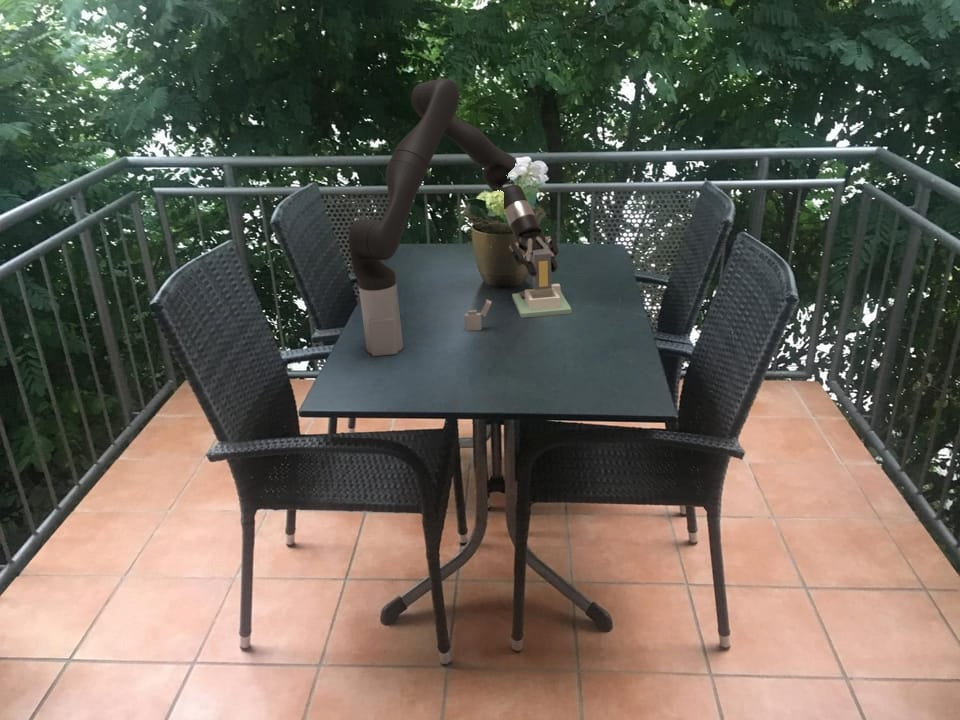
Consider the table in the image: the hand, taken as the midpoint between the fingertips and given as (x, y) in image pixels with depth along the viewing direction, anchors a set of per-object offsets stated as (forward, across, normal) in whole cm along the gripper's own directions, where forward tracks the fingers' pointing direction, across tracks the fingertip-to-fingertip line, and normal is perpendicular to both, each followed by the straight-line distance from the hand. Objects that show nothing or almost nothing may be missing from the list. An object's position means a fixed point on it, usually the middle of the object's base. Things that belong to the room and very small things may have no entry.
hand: (544, 272), depth 210 cm
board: (+5, +1, +10) cm, 11 cm away
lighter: (+9, -22, +6) cm, 24 cm away
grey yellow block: (+2, 0, +4) cm, 5 cm away
